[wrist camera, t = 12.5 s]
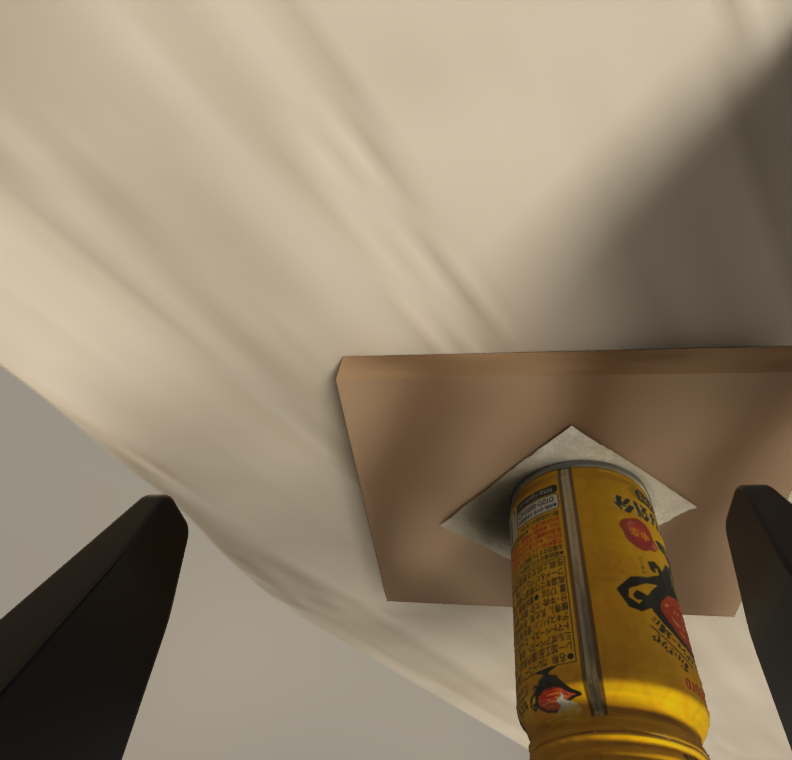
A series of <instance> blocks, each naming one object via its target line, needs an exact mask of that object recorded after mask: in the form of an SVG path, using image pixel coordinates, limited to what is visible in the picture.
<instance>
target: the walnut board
mask: <svg viewBox="0 0 792 760" xmlns="http://www.w3.org/2000/svg"><path fill="white" fill-rule="evenodd" d="M336 383H337V387H338V392H339V396H340V400H341V404H342V409H343V413H344V417H345V422H346V426H347V430H348V435H349V439H350V443H351V448H352V452H353V456H354V461H355V465H356V469H357V474H358V478H359V482H360V487H361V491H362V495H363V499H364V504H365V508H366V512H367V517H368V521H369V525H370V530H371V534H372V538H373V543H374V547H375V551H376V556H377V560H378V564H379V569H380V573H381V577H382V582H383V586H384V590H385V594H386V599H387V601H398V602H420V603H442V604H464V605H486V606H508V607H513V601H512V600H513V597H512V571H511V560H510V559H509V558H505V557H503V556H501V555H499V554H497V553H496V552H494V551H492V550H490V549H489V548H487V547H485V546H482V545H480V544H477V543H475V542H474V541H472V540H470V539H468V538H466V537H464V536H462V535H460V534H458V533H456V532H451V531H449V530H447V529H445V528H443V527H441V526H440V525H442V524H443V523H444V522H446V521H447V520H448V519H450V518H452V517H453V516H454V515H455V514H456V513H457V512H458V511H459V510H460V509H461V508H463V507H464V506H465V505H466V504H468V503H469V502H471V501H472V500H474V499H475V498H476V497H477V496H479V495H480V494H482V493H484V492H486V491H487V490H488V489H489V488H491V487H492V486H493V484H494V483H495V482H496V481H498V480H500V479H501V478H502V477H503V476H504V475H505V474H506V473H508V472H509V471H511V470H513V469H514V468H515V467H516V466H517V465H518V464H519V463H521V462H522V461H523V460H525V459H526V458H528V457H530V456H532V455H533V454H534V453H535V452H536V451H537V450H538V449H540V448H541V447H543V446H544V445H546V444H547V443H549V442H550V441H551V440H553V439H554V438H555V437H557V436H558V435H560V434H561V433H563V432H564V431H565V430H567V429H568V428H569V427H571V426H573V427H574V428H576V429H577V430H578V431H580V432H581V433H583V434H584V435H586V436H588V437H589V438H591V439H592V440H594V441H595V442H597V443H598V444H600V445H603V446H605V447H606V448H607V449H609V450H611V451H613V452H614V453H616V454H618V455H619V456H621V457H622V458H624V459H625V460H627V461H629V462H630V463H632V464H633V465H635V466H636V467H638V468H640V469H641V470H643V471H644V472H646V473H647V474H649V475H650V476H652V477H653V478H655V479H657V480H658V481H659V482H661V483H662V484H664V485H665V486H667V487H668V488H669V489H670V490H672V491H674V492H676V493H677V494H678V495H679V496H681V497H682V498H684V499H686V500H687V501H688V502H690V503H692V504H693V505H694V506H696V507H697V508H695V509H690V510H688V511H686V512H684V513H681V514H679V515H678V516H675V517H674V518H672V519H671V520H670V521H668V522H665V523H663V524H661V525H659V529H660V534H661V537H662V539H663V542H664V545H665V550H666V555H667V558H668V560H669V563H670V566H671V573H672V576H673V580H674V586H675V589H676V593H677V598H678V601H679V604H680V608H681V611H682V614H683V615H705V616H727V617H734V616H735V614H736V612H737V609H738V607H739V605H740V603H741V601H742V599H741V595H740V590H739V586H738V582H737V578H736V573H735V569H734V565H733V561H732V556H731V552H730V548H729V544H728V539H727V535H726V518H727V515H728V512H729V508H730V505H731V502H732V499H733V495H734V492H735V490H736V488H737V487H738V486H740V485H768V486H771V487H773V488H774V489H775V490H777V491H778V492H779V493H780V494H781V495H782V496H783V497H785V498H786V499H788V497H789V494H790V492H791V490H792V346H780V347H737V348H694V349H651V350H608V351H565V352H522V353H479V354H436V355H392V356H349V357H343V358H342V361H341V364H340V368H339V371H338V374H337V377H336Z"/></svg>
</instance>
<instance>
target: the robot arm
mask: <svg viewBox="0 0 792 760" xmlns="http://www.w3.org/2000/svg"><path fill="white" fill-rule="evenodd" d="M726 535H727V539H728V544H729V548H730V552H731V556H732V561H733V565H734V569H735V573H736V578H737V582H738V586H739V590H740V595H741V599H742V603H743V607H744V612H745V616H746V620H747V624H748V628H749V631H750V635H751V638H752V641H753V644H754V647H755V650H756V653H757V656H758V659H759V661H760V664H761V667H762V670H763V672H764V675H765V678H766V681H767V683H768V686H769V689H770V692H771V694H772V697H773V700H774V703H775V706H776V708H777V711H778V714H779V717H780V719H781V722H782V725H783V728H784V730H785V733H786V736H787V739H788V741H789V744H790V747H791V750H792V503H790V502H789V501H788V500H787V499H786V498H785V497H783V496H782V495H781V494H780V493H779V492H778V491H777V490H775V489H774V488H773V487H771V486H768V485H740V486H738V487H737V488H736V490H735V492H734V495H733V499H732V502H731V505H730V508H729V512H728V515H727V518H726ZM187 539H188V525H187V522H186V520H185V519H184V517H183V515H182V514H181V512H180V510H179V509H178V507H177V505H176V504H175V502H174V500H173V499H172V498H171V497H170V496H168V495H147V496H145V497H142V498H141V499H140V500H139V501H137V502H136V503H135V504H134V505H133V506H132V507H130V508H129V509H128V510H127V511H126V512H125V513H123V514H122V515H121V516H120V517H119V518H118V519H116V520H115V521H114V522H113V523H112V524H111V525H110V526H108V527H107V528H106V529H105V530H104V531H103V532H101V533H100V534H99V535H98V536H97V537H96V538H95V539H93V540H92V541H91V542H90V543H89V544H87V545H86V546H85V547H84V548H83V549H82V550H80V551H79V552H78V553H77V554H76V555H75V556H73V557H72V558H71V559H70V560H69V561H68V562H67V563H65V564H64V565H63V566H62V567H61V568H60V569H58V570H57V571H56V572H55V573H54V574H53V575H51V576H50V577H49V578H48V579H47V580H46V581H45V582H43V583H42V584H41V585H40V586H39V587H37V589H35V590H34V591H33V592H32V593H31V594H29V595H28V596H27V597H26V598H25V599H24V600H23V601H21V603H19V604H18V605H17V606H15V607H14V608H13V609H12V610H11V611H10V612H8V613H7V614H6V615H5V616H4V617H3V618H2V619H0V760H122V757H123V754H124V751H125V748H126V745H127V742H128V739H129V737H130V733H131V731H132V728H133V725H134V722H135V719H136V716H137V713H138V710H139V706H140V704H141V701H142V698H143V695H144V692H145V689H146V686H147V683H148V680H149V677H150V674H151V671H152V669H153V666H154V663H155V660H156V657H157V654H158V651H159V648H160V645H161V642H162V639H163V636H164V633H165V630H166V627H167V623H168V620H169V617H170V613H171V609H172V605H173V601H174V596H175V592H176V588H177V583H178V578H179V574H180V569H181V566H182V561H183V557H184V552H185V548H186V544H187Z"/></svg>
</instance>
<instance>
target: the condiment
mask: <svg viewBox="0 0 792 760" xmlns="http://www.w3.org/2000/svg"><path fill="white" fill-rule="evenodd" d="M695 508H697V507H696V506H694V505H693V504H692V503H690V502H688V501H687V500H686V499H684V498H682V497H681V496H679V495H678V494H677V493H676V492H674V491H672V490H670V489H669V488H668V487H667V486H665V485H664V484H662V483H661V482H659V481H658V480H657V479H655V478H653V477H652V476H650V475H649V474H647V473H646V472H644V471H643V470H641V469H640V468H638V467H636V466H635V465H633V464H632V463H630V462H629V461H627V460H625V459H624V458H622V457H621V456H619V455H618V454H616V453H614V452H613V451H611V450H609V449H607V448H606V447H605V446H603V445H600V444H598V443H597V442H595V441H594V440H592V439H591V438H589V437H588V436H586V435H584V434H583V433H581V432H580V431H578V430H577V429H576V428H574V427H573V426H571V427H569V428H568V429H567V430H565V431H564V432H563V433H561V434H560V435H558V436H557V437H555V438H554V439H553V440H551V441H550V442H549V443H547V444H546V445H544V446H543V447H541V448H540V449H538V450H537V451H536V452H535V453H534V454H533V455H532V456H530V457H528V458H526V459H525V460H523V461H522V462H521V463H519V464H518V465H517V466H516V467H515V468H514V469H513V470H511V471H509V472H508V473H506V474H505V475H504V476H503V477H502V478H501V479H500V480H498V481H496V482H495V483H494V484H493V486H492V487H491V488H489V489H488V490H487V491H486V492H484V493H482V494H480V495H479V496H477V497H476V498H475V499H474V500H472V501H471V502H469V503H468V504H466V505H465V506H464V507H463V508H461V509H460V510H459V511H458V512H457V513H456V514H455V515H454V516H453V517H452V518H450V519H448V520H447V521H446V522H444V523H443V524H442V525H440V526H441V527H443V528H445V529H447V530H449V531H451V532H456V533H458V534H460V535H462V536H464V537H466V538H468V539H470V540H472V541H474V542H475V543H477V544H480V545H482V546H485V547H487V548H489V549H490V550H492V551H494V552H496V553H497V554H499V555H501V556H503V557H505V558H509V559H510V560H511V571H512V597H513V600H512V601H513V620H514V622H513V623H514V647H515V675H516V697H517V705H516V709H517V714H518V719H519V722H520V724H521V726H522V728H523V730H524V731H525V732H526V733H527V735H528V738H529V740H530V744H529V752H530V760H710V758H709V755H708V754H707V753H706V751H705V749H704V748H703V747H702V745H703V742H704V740H705V738H706V736H707V732H708V729H709V726H710V714H709V711H708V709H707V705H706V701H705V693H704V691H703V688H702V683H701V680H700V678H699V674H698V671H697V667H696V664H695V660H694V656H693V653H692V648H691V645H690V642H689V638H688V634H687V631H686V627H685V623H684V619H683V616H682V611H681V608H680V604H679V601H678V598H677V593H676V589H675V586H674V580H673V576H672V573H671V566H670V563H669V560H668V558H667V555H666V550H665V545H664V542H663V539H662V537H661V534H660V529H659V525H661V524H663V523H665V522H668V521H670V520H671V519H672V518H674V517H675V516H678V515H679V514H681V513H684V512H686V511H688V510H690V509H695Z"/></svg>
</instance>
